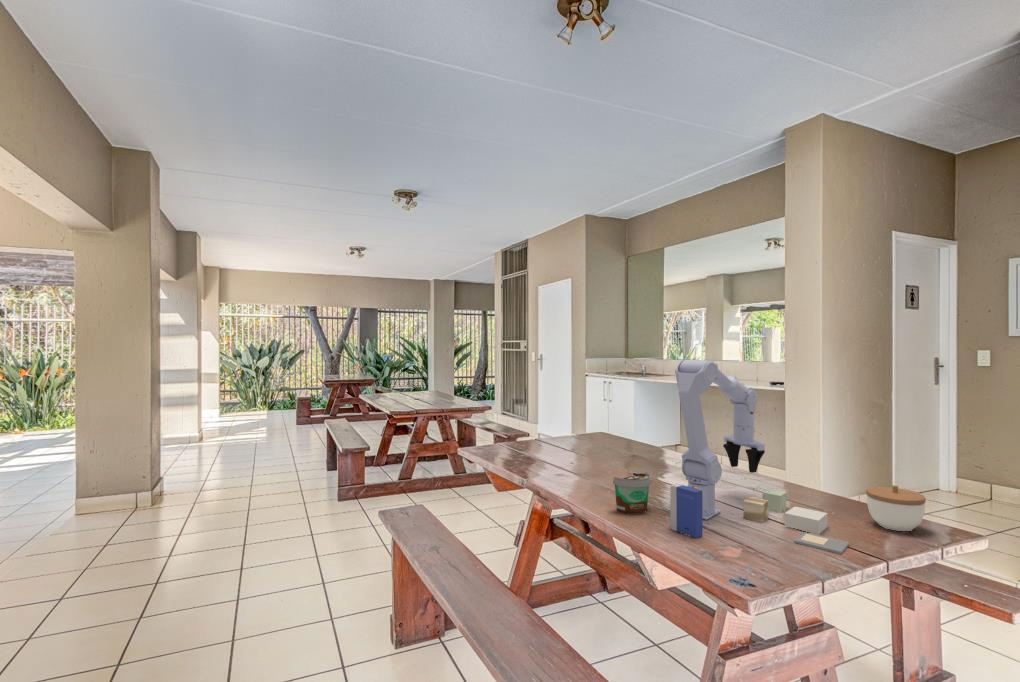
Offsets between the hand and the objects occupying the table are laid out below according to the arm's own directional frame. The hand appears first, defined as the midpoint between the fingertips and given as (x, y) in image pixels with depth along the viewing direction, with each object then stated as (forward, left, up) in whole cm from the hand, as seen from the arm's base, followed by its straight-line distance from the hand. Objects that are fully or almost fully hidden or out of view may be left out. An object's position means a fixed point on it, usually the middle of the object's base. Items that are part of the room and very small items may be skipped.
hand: (743, 469), depth 162 cm
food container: (-33, +18, -10) cm, 39 cm away
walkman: (-39, 0, -10) cm, 40 cm away
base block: (-13, -21, -10) cm, 26 cm away
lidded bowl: (+3, -38, -10) cm, 39 cm away
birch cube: (-15, -9, -10) cm, 20 cm away
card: (-23, -27, -9) cm, 37 cm away
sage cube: (-3, -10, -10) cm, 14 cm away
